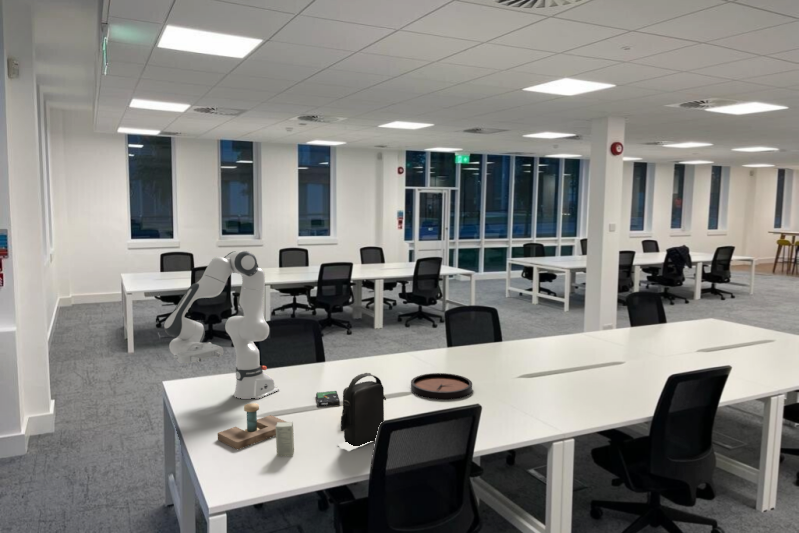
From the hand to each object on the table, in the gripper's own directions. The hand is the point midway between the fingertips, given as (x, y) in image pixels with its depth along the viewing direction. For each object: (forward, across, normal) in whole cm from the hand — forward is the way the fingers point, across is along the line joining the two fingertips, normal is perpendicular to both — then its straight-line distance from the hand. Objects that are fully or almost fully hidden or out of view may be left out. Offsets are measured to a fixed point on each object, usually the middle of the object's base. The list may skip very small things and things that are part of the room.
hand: (209, 357), depth 255 cm
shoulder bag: (+65, +29, +28) cm, 77 cm away
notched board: (+28, +3, +28) cm, 40 cm away
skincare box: (+52, 0, +28) cm, 59 cm away
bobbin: (+26, +3, +28) cm, 38 cm away
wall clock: (+50, +101, +28) cm, 116 cm away
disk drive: (+20, +51, +29) cm, 61 cm away
